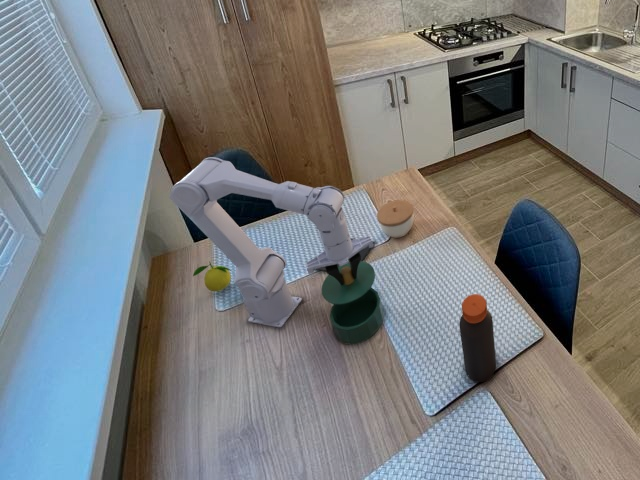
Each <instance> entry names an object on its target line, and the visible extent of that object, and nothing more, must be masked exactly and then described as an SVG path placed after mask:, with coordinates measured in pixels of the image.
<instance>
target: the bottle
mask: <svg viewBox="0 0 640 480" xmlns="http://www.w3.org/2000/svg"><path fill="white" fill-rule="evenodd" d="M461 312H462V314H461V316H460V318H459V323H458V324H459V335H460V342H461V349H462V358H463V363H464V371H465V373H466V376H467V377H468V378H469V379H470V380H471V381H473V382H475V383H484V382H486V381H488V380H490V379H491V377H493V375H494V374H495V372H496V368H497V360H496V359H497V357H496V345H495V333H494V331H495V330H494V322H493V321H494V320H493V315H492V314H491V312H490V311H489V310H488V304H487V300H486V298H485V297H484V296H483V295H481V294H478V293H473V294H470V295H468V296H466V297H465V298H464V299H463V301H462V303H461ZM468 375H469V376H468Z"/></svg>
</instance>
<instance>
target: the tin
mask: <svg viewBox="0 0 640 480" xmlns="http://www.w3.org/2000/svg"><path fill="white" fill-rule="evenodd" d="M329 318H330V323H331V325H332V327H333V331H334V334H335V336H336V338H337V340H338V341H340V342H341V343H343V344H347V345H355V344H356V345H357V344H360V343H363V342H365V341H367V340H368V339H370V338H371V337H373V336H374V335H375V334H376V333H377V332H378V331H379V329H380V328H381V326H382V324H383V321H384V307H383V304H382V300H381V297H380V295H379V292H378V291H377V290H376V289H375V288H372V287H371V288H370V289H369V290H368V292H367V293H365V294H364V295H363V296H362V297H360V298H359V299H357V300H355V301H353V302H350V303H347V304H341V305H337V304H332V306H331V309H330V313H329Z"/></svg>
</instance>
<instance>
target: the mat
mask: <svg viewBox="0 0 640 480" xmlns="http://www.w3.org/2000/svg"><path fill="white" fill-rule="evenodd" d="M354 239H355V238H351V240H354ZM375 244H376V242H375V241H373V245H374V246H375ZM372 248H373V247H371V248H369V246H368V247H366V248H364V249H362V250H360V251H359V253H360V255H361V261H364V260H365V259H366V257H367V256H368V254H369V253H370V251H371V249H372ZM348 261H349V259H348ZM337 266H338V267H339V264H337ZM315 271H319V272H320V271H321V272H326V268H325V266H324V267H320V268H318V269H316V270H315Z"/></svg>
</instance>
